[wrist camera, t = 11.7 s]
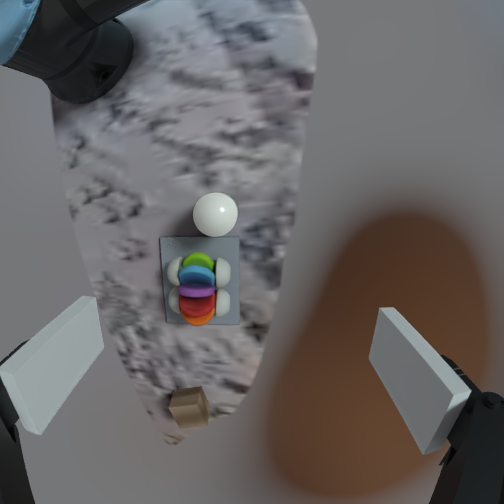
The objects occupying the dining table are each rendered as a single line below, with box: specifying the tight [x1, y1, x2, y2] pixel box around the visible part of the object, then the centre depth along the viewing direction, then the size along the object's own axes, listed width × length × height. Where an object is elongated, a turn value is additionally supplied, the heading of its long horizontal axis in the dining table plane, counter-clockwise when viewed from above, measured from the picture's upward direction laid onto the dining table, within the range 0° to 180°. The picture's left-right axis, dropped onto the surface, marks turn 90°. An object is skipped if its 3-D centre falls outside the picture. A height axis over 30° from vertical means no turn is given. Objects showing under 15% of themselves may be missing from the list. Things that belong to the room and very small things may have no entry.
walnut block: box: [168, 386, 210, 428], centre depth 47 cm, size 5×5×5 cm
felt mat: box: [160, 237, 240, 325], centre depth 44 cm, size 13×11×1 cm
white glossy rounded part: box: [193, 193, 239, 237], centre depth 38 cm, size 5×5×7 cm
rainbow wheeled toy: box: [167, 252, 231, 326], centre depth 40 cm, size 8×10×7 cm
